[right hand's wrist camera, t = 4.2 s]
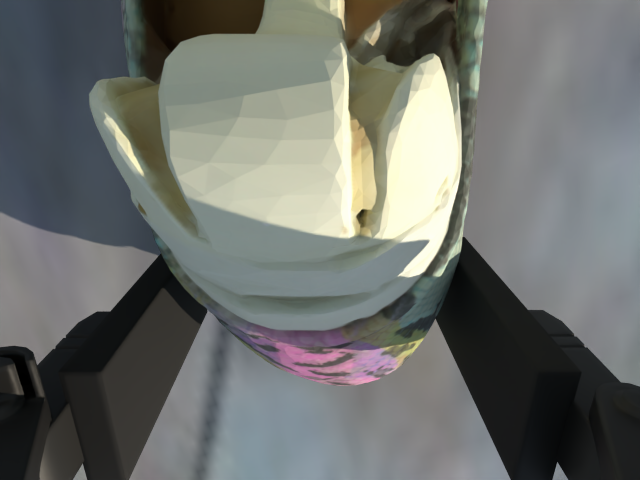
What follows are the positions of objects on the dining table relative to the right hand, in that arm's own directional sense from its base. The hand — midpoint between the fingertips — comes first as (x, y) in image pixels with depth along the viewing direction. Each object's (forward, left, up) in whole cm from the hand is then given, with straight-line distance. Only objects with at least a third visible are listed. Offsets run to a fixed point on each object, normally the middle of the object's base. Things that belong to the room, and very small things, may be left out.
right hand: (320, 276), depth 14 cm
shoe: (+2, +9, -1) cm, 9 cm away
